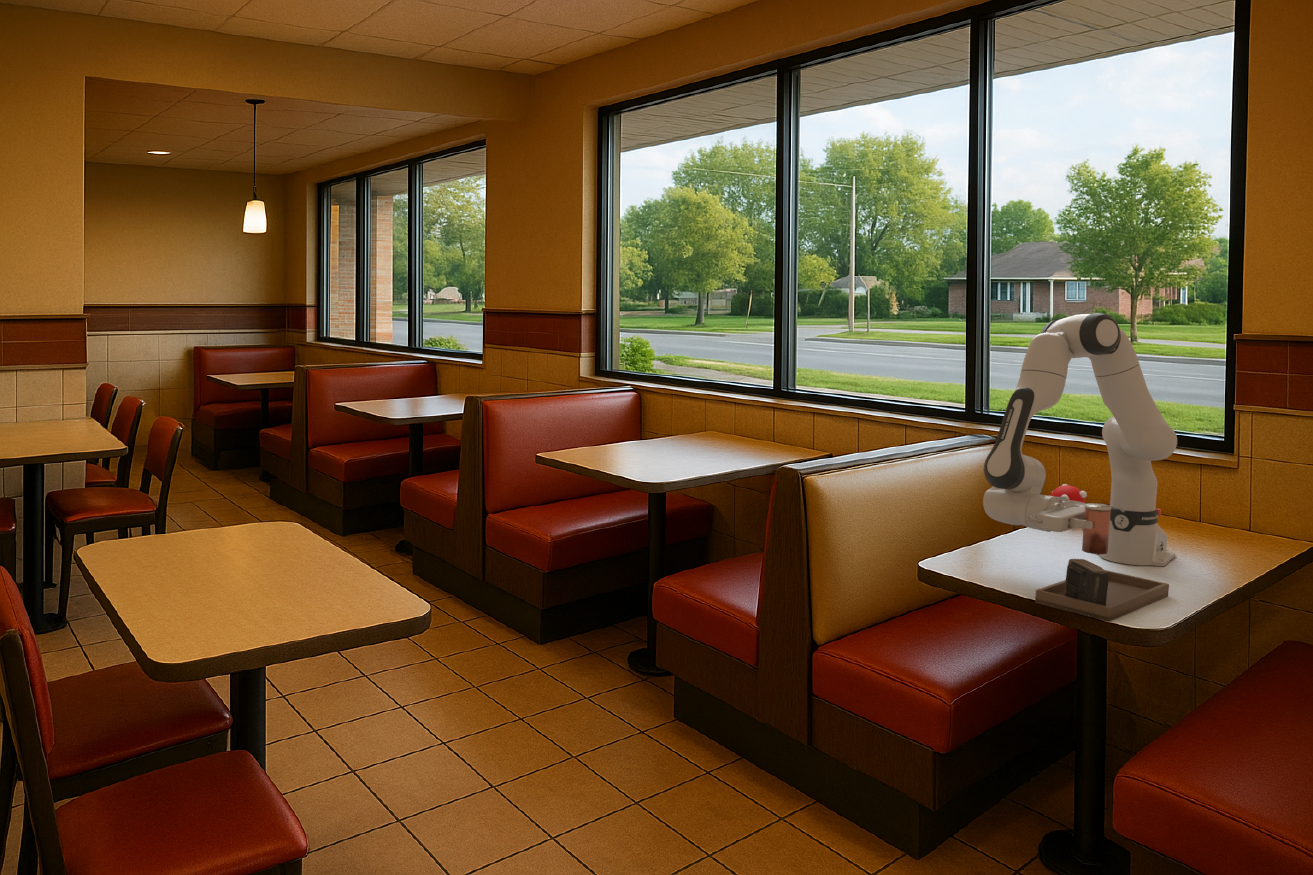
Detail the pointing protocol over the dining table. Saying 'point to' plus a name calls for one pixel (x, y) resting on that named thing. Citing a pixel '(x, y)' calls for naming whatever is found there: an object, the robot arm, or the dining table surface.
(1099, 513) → the tin
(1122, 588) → the tray
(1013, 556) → the dining table surface
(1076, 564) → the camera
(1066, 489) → the mushroom
